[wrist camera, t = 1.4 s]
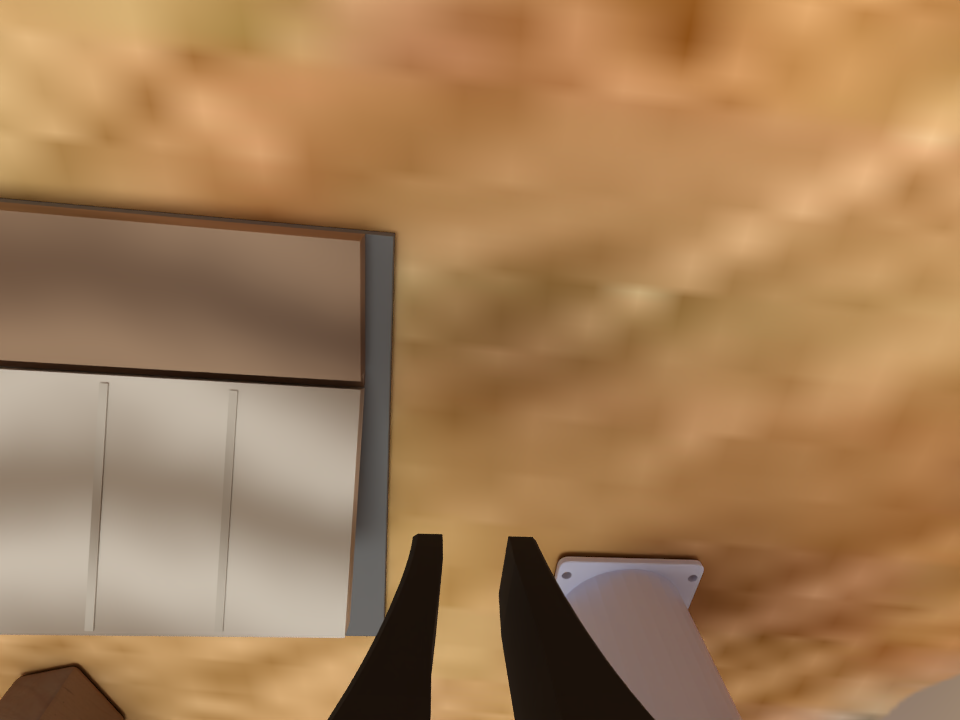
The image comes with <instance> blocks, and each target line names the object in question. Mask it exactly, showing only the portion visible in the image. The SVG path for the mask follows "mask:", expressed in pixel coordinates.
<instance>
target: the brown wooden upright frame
mask: <svg viewBox="0 0 960 720" xmlns="http://www.w3.org/2000/svg"><path fill="white" fill-rule="evenodd" d="M0 720H124V718H123V716H122V715H121V714H120V713H119V712H118V711H117V710H116V709H115V708H114V707H113V706H112V704H111V703H110V702H109V701H108V700H107V699H106V698H105V697H104V696H103V695H102V694H101V693H100V691H99V690H98V689H97V688H96V687H95V686H94V685H93V684H92V683H91V682H90V681H89V679H88V678H87V677H86V676H85V675H84V674H83V673H82V672H81V671H80V670H79V669H78V668H76V667H67V668H62V669H57V670H51V671H46V672H41V673H36V674H31V675H26V676H21V677H20V678H18V679H17V680H16V681H15V682H14V683H13V684H12V686H11V687H10V688H9V690H8V691H7V692H6V693H5V695H4V696H3V697H2V699H1V700H0Z"/></svg>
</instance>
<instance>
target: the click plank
mask: <svg viewBox="0 0 960 720" xmlns="http://www.w3.org/2000/svg"><path fill="white" fill-rule="evenodd" d="M364 391H365V388H361V387H344V386H327V385H310V384H292V383H275V382H258V381H241V380H223V379H206V378H189V377H172V376H155V375H137V374H120V373H103V372H86V371H68V370H51V369H34V368H17V367H0V635H103V636H209V637H314V638H345V635H346V632H347V629H348V625H349V622H350V611H351V595H352V579H353V564H354V548H355V532H356V517H357V501H358V485H359V470H360V454H361V438H362V423H363V407H364Z"/></svg>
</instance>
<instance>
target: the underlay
mask: <svg viewBox="0 0 960 720" xmlns="http://www.w3.org/2000/svg"><path fill="white" fill-rule="evenodd" d="M0 202H7V203H18V204H29V205H41V206H52V207H64V208H75V209H86V210H98V211H109V212H121V213H132V214H143V215H155V216H166V217H177V218H189V219H200V220H212V221H223V222H234V223H246V224H257V225H268V226H280V227H291V228H303V229H314V230H325V231H337V232H348V233H359V234H365V385H364V387H361V388H365V391H364V407H363V423H362V438H361V454H360V470H359V485H358V501H357V517H356V532H355V548H354V564H353V579H352V595H351V611H350V622H349V625H348V629H347V632H346V635H345V636H376V635H377V633H378V631H379V629H380V627H381V625H382V623H383V621H384V619H385V592H386V553H387V515H388V477H389V439H390V400H391V362H392V324H393V286H394V247H395V233H388V232H377V231H365V230H354V229H343V228H332V227H320V226H309V225H298V224H286V223H275V222H264V221H252V220H241V219H230V218H219V217H207V216H196V215H185V214H173V213H162V212H151V211H140V210H128V209H117V208H106V207H94V206H83V205H72V204H61V203H49V202H38V201H27V200H15V199H4V198H0ZM0 367H7V366H0ZM17 368H24V367H17ZM34 369H41V368H34ZM51 370H58V369H51ZM68 371H75V370H68ZM86 372H93V371H86ZM103 373H110V372H103ZM120 374H127V373H120ZM137 375H144V374H137ZM155 376H161V375H155ZM172 377H179V376H172ZM189 378H196V377H189ZM206 379H213V378H206ZM223 380H230V379H223ZM241 381H247V380H241ZM258 382H265V381H258ZM275 383H282V382H275ZM292 384H299V383H292ZM310 385H316V384H310ZM327 386H333V385H327ZM344 387H351V386H344Z"/></svg>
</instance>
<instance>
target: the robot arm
mask: <svg viewBox="0 0 960 720" xmlns="http://www.w3.org/2000/svg"><path fill="white" fill-rule="evenodd" d="M442 563H443V539H442V534H417V535H415V536H414V537H413V540H412V546H411V550H410V554H409V558H408V561H407V564H406V567H405V570H404V573H403V576H402V579H401V581H400V584H399V586H398V589H397V591H396V594H395V596H394V598H393V601H392V603H391V606H390V608H389V610H388V612H387V615H386V617H385V619H384V621H383V623H382V625H381V627H380V629H379V631H378V633H377V635H376V637H375V639H374V641H373V643H372V645H371V647H370V649H369V651H368V653H367V655H366V656H365V658H364V660H363V662H362V664H361V665H360V667H359V669H358V671H357V672H356V674H355V676H354V678H353V679H352V681H351V683H350V685H349V686H348V688H347V690H346V691H345V693H344V694H343V696H342V698H341V699H340V701H339V702H338V704H337V706H336V707H335V709H334V710H333V712H332V714H331V715H330V717H329V718H328V720H430V715H431V672H432V664H433V655H434V646H435V637H436V627H437V616H438V606H439V595H440V584H441V574H442ZM565 572H567V573H565ZM703 572H704V568H703V566H702V564H701V562H700V561H698V560H680V559H642V558H604V557H564V558H562V559H560V560H559V562H558V564H557V569H556V573H555V577H554V576H553V574H552V572H551V570H550V568H549V566H548V565H547V563H546V561H545V559H544V557H543V555H542V553H541V551H540V549H539V547H538V544H537V542H536V540H535V539H534V538H533V537H510V536H508V542H507V548H506V554H505V560H504V566H503V572H502V578H501V584H500V590H499V605H500V622H501V637H502V643H503V650H504V656H505V662H506V668H507V675H508V681H509V687H510V693H511V699H512V705H513V711H514V717H515V720H742V719H741V717H740V714H739V712H738V710H737V708H736V706H735V704H734V702H733V700H732V698H731V696H730V694H729V692H728V690H727V688H726V686H725V684H724V682H723V680H722V678H721V676H720V674H719V672H718V670H717V668H716V666H715V664H714V662H713V660H712V658H711V656H710V654H709V652H708V650H707V648H706V646H705V643H704V641H703V639H702V637H701V635H700V633H699V631H698V629H697V627H696V625H695V623H694V621H693V619H692V617H691V615H690V613H689V611H688V608H689V606H690V603H691V601H692V598H693V596H694V594H695V591H696V589H697V586H698V584H699V581H700V579H701V577H702V574H703Z"/></svg>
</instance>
